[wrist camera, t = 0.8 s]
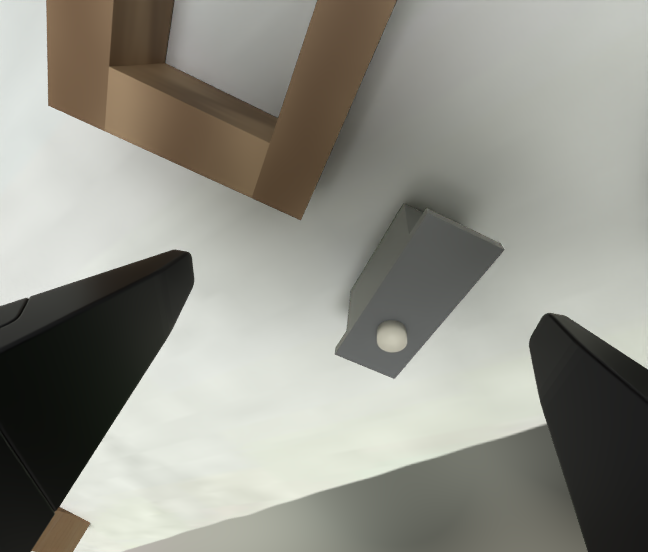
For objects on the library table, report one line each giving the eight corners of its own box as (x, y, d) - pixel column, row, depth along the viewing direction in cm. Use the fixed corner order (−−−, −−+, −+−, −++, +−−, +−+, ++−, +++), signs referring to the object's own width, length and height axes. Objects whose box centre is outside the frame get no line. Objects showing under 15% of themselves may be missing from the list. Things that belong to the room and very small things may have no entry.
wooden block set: (-51, 543, 49) (-126, 476, 39) (-13, 500, 54) (-71, 430, 44) (65, 570, 48) (19, 507, 38) (93, 523, 53) (59, 457, 43)
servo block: (479, 209, 20) (509, 258, 16) (391, 327, 26) (394, 389, 21) (417, 179, 20) (430, 220, 15) (341, 305, 25) (333, 364, 20)
